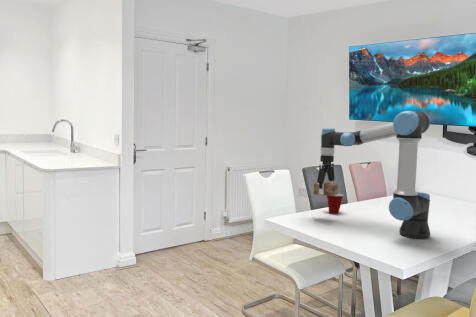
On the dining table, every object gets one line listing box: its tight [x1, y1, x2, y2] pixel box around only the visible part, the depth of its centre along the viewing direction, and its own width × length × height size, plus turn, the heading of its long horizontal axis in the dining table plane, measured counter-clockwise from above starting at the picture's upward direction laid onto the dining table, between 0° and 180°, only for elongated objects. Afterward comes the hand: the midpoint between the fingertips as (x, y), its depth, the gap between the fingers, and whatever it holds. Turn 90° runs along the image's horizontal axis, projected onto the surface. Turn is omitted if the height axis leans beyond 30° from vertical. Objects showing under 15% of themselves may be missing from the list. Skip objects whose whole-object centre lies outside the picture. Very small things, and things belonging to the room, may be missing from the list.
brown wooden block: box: [313, 181, 339, 197], centre depth 257 cm, size 12×9×6 cm
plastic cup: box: [326, 193, 344, 215], centre depth 276 cm, size 11×11×12 cm
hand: (325, 193), depth 257 cm, fingers closed on brown wooden block, 10 cm apart
